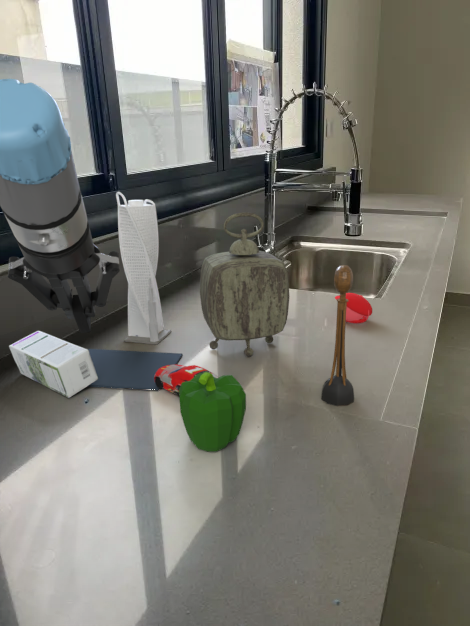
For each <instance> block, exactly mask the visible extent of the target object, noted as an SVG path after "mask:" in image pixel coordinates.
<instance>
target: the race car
mask: <svg viewBox="0 0 470 626" xmlns="http://www.w3.org/2000/svg"><path fill="white" fill-rule="evenodd" d="M205 372H209V373H211V374H212V375H213V377H215V378H219V377H220V376H219V377H218V376H217V375H216V374H215V373H213V372H211V371H210V370H208V369H206V368H204V367H202V366H199V365H196V364H191V365H183V364H176V365H167V366H163V367H161V368H159V369H158V371H157V372H156V373H155V376H154V381H155V383H156V386H157V387H158V388H159V389H160V390H162V389H164V390H166V391H168V392H169V393H172V394H174V395H176V396H178V397H179V389H180V386H181V384H182V382H187V381H190V380H191V379H192V378H194V377H195V376H196V375H198V374H199V373H202V374H203V373H205Z"/></svg>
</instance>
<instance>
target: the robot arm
mask: <svg viewBox="0 0 470 626" xmlns="http://www.w3.org/2000/svg"><path fill="white" fill-rule="evenodd" d="M0 209H1V211H2V213H3V215H4V217H5V219H6V221H7V223H8V225H9V227H10V229H11V232H12V234H13V236H14V237H15V239H16V243H17V244H18V247H19V249H20V251H21V253H22V255H23V257H21V258H20V257H18V256H10V257H9V258H8V269H7V278H8V279H10V280H12V281H13V282H16V283H17V284H20V285H21V286H22V287H23V288H25V289H26V291H28V292H29V293H30V294H31V295H32V296H33V297H34V298H35V299H36V300H38V302H39V303H41V304H42V305H43V306H44V308H46V309H47V310H48V311H52V312H53V311H56V310H57V309H62V311H63V312H64V313H65V316H66V318H67V319H68V320H75V323H76V325H77V328H78V331H79V333H80V334H84V333H92V318H95V317H96V307H97V308H104V307H105V306H106V303H107V300H108V298H109V293H110V289H111V286H112V282H113V279H114V278H115V277H116V276H117V275H118V274H119V273H120V269H121V268H120V253H119V252H118V251H112V250H111V251H110V252H108V254H105V253H102V252H101V250H100V248H99V247H98V246H96V244H94V241H93V237H92V232H91V229H90V225H89V224H90V223H89V220H88V216H87V211H86V206H85V202H84V199H83V195H82V191H81V187H80V183H79V178H78V174H77V169H76V165H75V161H74V155H73V151H72V141H71V137H70V135H69V131H68V129H67V128H66V127H65V122H64V120H63V117H62V113H61V110H60V107H59V105H58V103H57V101H56V100H55V98H54V97H53V96H52V95H51V93H49V92H48V91H47V90H46V89H45V88H43V87H41V86H40V85H38V84H36V83H34V82H25V83H24V82H22V81H21V82H20V80H18V79H15V78H1V79H0ZM97 266H98V269H99V272H98V276H97V282H96V286H95V290H94V291H93V290H92V287H91V285H90V281H89V277H88V275H89V273H91V272H92V270H93V269H95V268H96V267H97ZM47 280H48V281H47ZM69 280H71V282H72V285H73V287H74V288H75V290H76V293H77V294H73V288H71V286H70V283H69Z"/></svg>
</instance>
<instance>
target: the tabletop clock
mask: <svg viewBox="0 0 470 626" xmlns="http://www.w3.org/2000/svg"><path fill="white" fill-rule="evenodd" d="M242 217H243V218H245V217H251V218H254V219H256V220H258V221H259V223H260V228H259V229H257V230H256V231H253V232H249V233H248V230H247V229H246V228H243V229H241V230H240V233H234V232H231V231H229V230H228V229H227V225H228V224H229V222H231V221H232V220H234V219H236V218H242ZM264 228H265V223H264V220H263V219H262V217H260V215H259V214H256V213H254V212H248V211H247V212H245V211H243V212H237V213H234V214H232V215H230V216H228V217H227V218H226V219H225V221H224V223H223V231H224V232H225V234H227V236H230V237H232V238H235V239H237V240H235V241H234V242H233V243H231V246H230V247H229V250H228V251H223V252H218V253H216V252H215V253H214V254H211V255H208V256H207V257H205V258H204V260H203V261H202V265H201V269H200V276H199V277H200V279H199V296H200V297H199V298H200V306H201V311H202V315H203V316H202V317H203V319H204V321H205V322H206V324H207V326H208V328H209V330H210V331H211V333H212V334H213V336H214V338H215V339H214V340H210V342H209V343H208V345H209V349H211V350H216V349H218V347H219V343H218V342H219V341H220V340H222V341H245V344H246V345H245V346H246V348H245V349H243V352H244V355H245V356H246V357H252V356H253V355H254V350H253V348H251V340H256V339H257V340H258V339H263V338H264V341H265V343H266V344H272V343H273V341H274V336H275V335H278V334H280V332H284V329H285V327H286V324H287V320H288V315H289V309H290V308H289V307H290V297H291V296H290V280H289V274H288V269H287V266H286V264H285V261H283V260H281V259H280V258H278V257H276V256H275V255H273V254H272V253H269V252H266V251H265V250H264V251H263V250H260V249H259V247H258V245H257V244H256V242H255V241H254V240H252V239H248V238H253V237H255V236H257V235H259V234H260V233H262V232H263V230H264Z"/></svg>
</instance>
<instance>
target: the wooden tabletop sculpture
mask: <svg viewBox="0 0 470 626" xmlns="http://www.w3.org/2000/svg"><path fill="white" fill-rule="evenodd" d="M333 276H334V278H333V285H334V288H335V290H336V292H337V293H339V295H340V298H339V299H337V300H336V302H337V303H336V304H337V307H336V325H335V326H336V327H335V344H334V350H333V351H334V353H333V360H332V367H331V373H330V377H329V378H328V379H326V380H325V381H324V382H323V385H322V388H321V400H322V401H323V402H324V403H326V404H327V405H332V406H335V407H342V406H343V407H344V406H349V405H351V404H352V403H354V402H355V391H354V386H353V384H352V382H351V381H350V380H349V379H348V378H347V377H348V376H347V372H346V371H347V370H346V323H347V322H346V306H347V302H348V299H346V293H350V291H351V289H352V287H353V284H354V272H353V269H352V268H351V267H350V266H349V265H348V264H340V265H339V266H338V267H337V268H336V269H335V272H334V275H333Z"/></svg>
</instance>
